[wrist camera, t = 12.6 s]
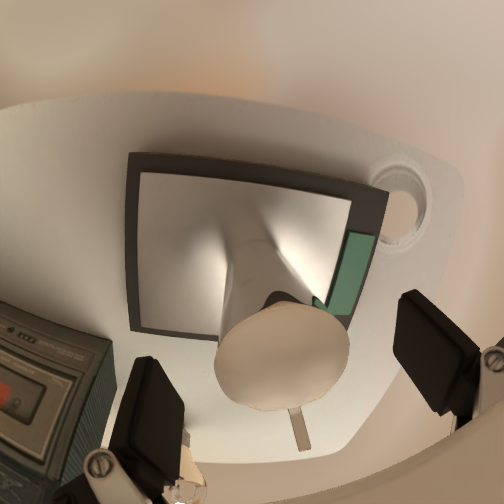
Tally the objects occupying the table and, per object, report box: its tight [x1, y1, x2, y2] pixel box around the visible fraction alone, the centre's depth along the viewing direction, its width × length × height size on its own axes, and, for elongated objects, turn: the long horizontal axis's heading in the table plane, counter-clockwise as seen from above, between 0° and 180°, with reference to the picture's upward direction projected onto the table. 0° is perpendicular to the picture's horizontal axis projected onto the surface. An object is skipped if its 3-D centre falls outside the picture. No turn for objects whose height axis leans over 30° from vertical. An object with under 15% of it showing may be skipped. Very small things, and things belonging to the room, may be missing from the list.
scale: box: [125, 152, 389, 341], centre depth 17 cm, size 16×12×3 cm
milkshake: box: [214, 240, 350, 452], centre depth 11 cm, size 4×5×10 cm
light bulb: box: [164, 428, 207, 504], centre depth 20 cm, size 7×7×12 cm
